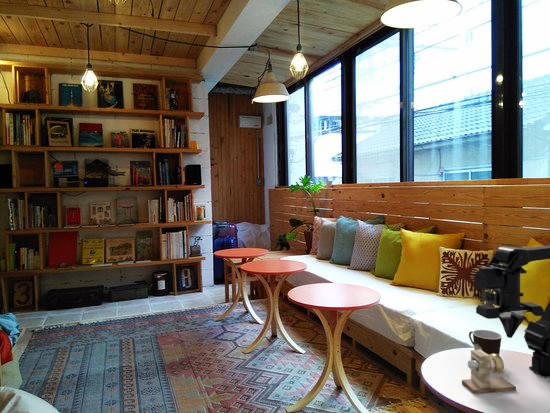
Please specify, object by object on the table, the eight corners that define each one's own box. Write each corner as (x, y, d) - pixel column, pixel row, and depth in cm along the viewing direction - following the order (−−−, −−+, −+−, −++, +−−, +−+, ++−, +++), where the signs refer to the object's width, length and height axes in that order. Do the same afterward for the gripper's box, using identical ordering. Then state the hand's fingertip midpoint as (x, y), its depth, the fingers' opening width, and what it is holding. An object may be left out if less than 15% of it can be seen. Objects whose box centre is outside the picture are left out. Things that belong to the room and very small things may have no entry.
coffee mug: (505, 370, 124) (505, 339, 124) (477, 368, 126) (477, 338, 125) (493, 355, 135) (493, 327, 135) (466, 353, 137) (466, 326, 137)
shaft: (492, 367, 116) (492, 350, 116) (504, 375, 111) (504, 358, 111) (464, 369, 115) (464, 352, 115) (475, 377, 110) (475, 360, 110)
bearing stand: (502, 380, 117) (501, 347, 117) (516, 390, 111) (516, 355, 111) (461, 383, 116) (461, 349, 116) (474, 394, 110) (473, 358, 110)
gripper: (518, 280, 128) (518, 326, 128) (465, 283, 126) (465, 329, 126) (545, 288, 116) (545, 339, 117) (487, 291, 115) (487, 343, 115)
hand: (509, 337), depth 119 cm, fingers closed
